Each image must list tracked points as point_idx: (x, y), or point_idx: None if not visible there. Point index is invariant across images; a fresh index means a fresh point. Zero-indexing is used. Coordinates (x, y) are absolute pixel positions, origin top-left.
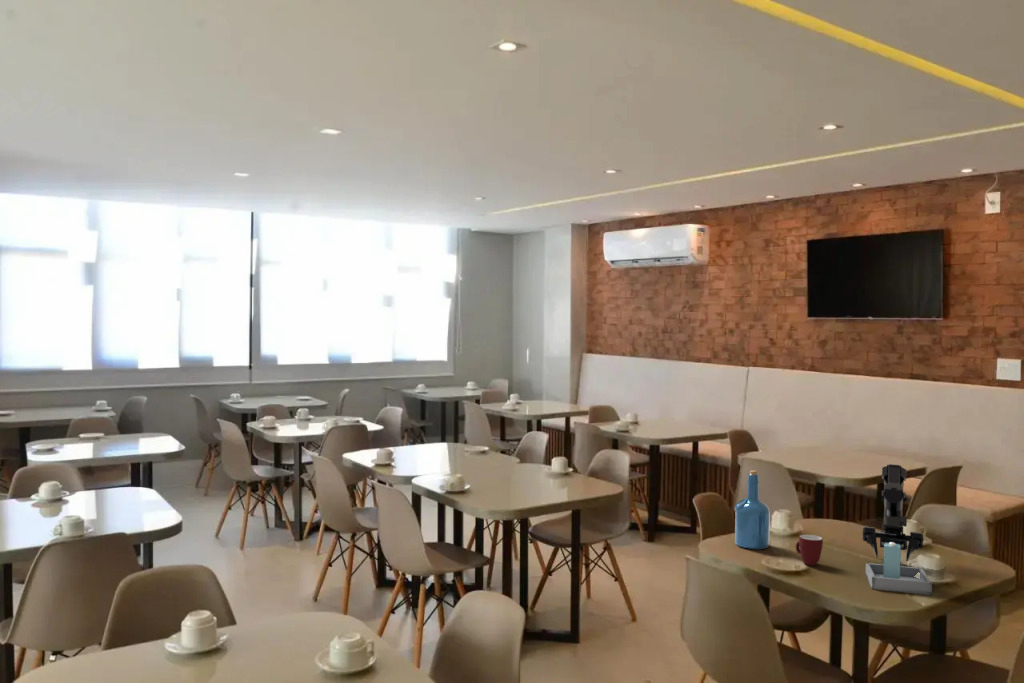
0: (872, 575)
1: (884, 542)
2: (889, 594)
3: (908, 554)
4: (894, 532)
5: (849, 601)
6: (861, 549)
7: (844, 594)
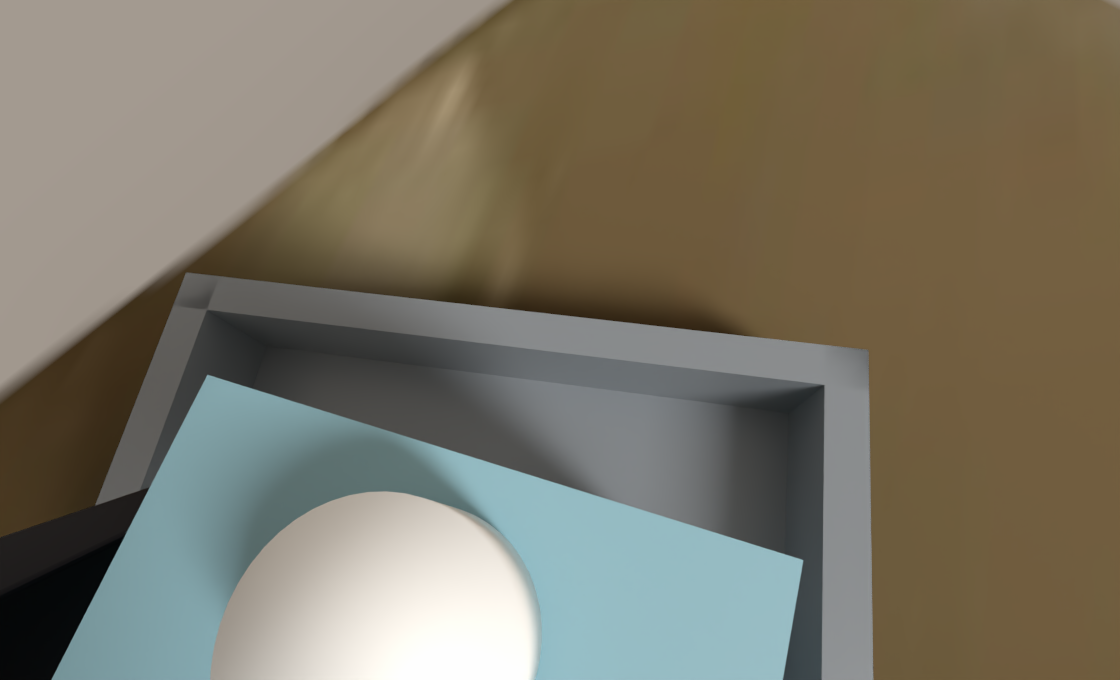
0: (854, 428)
1: None
2: (666, 262)
3: (81, 521)
4: None
5: (1059, 15)
6: None
7: (1110, 170)
